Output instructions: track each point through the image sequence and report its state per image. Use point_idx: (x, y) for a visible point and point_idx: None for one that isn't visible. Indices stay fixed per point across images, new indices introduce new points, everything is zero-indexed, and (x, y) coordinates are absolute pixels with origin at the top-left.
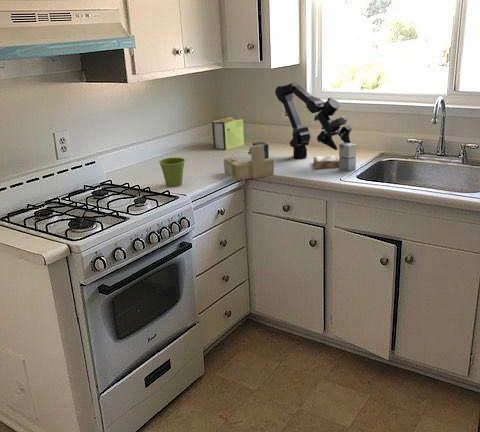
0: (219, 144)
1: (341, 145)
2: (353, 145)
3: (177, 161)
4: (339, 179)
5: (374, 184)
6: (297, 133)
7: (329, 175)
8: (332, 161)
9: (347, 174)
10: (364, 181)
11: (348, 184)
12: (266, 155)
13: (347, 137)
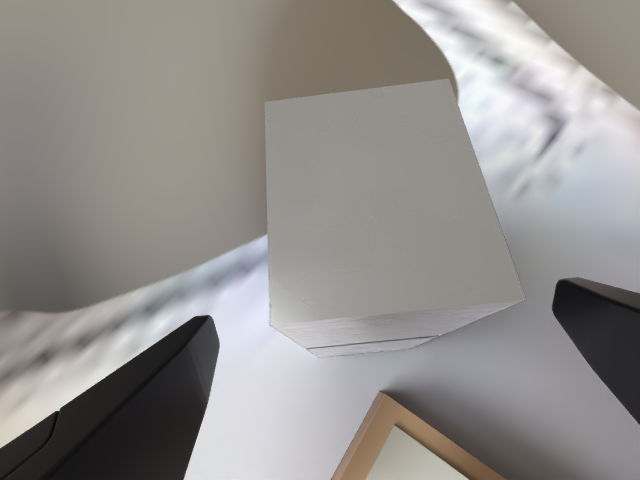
0: None
1: (496, 239)
2: (335, 97)
3: None
4: (557, 141)
5: (433, 7)
6: None
7: (581, 247)
8: (449, 447)
9: None
10: (444, 54)
11: (554, 55)
12: None
13: (58, 462)
